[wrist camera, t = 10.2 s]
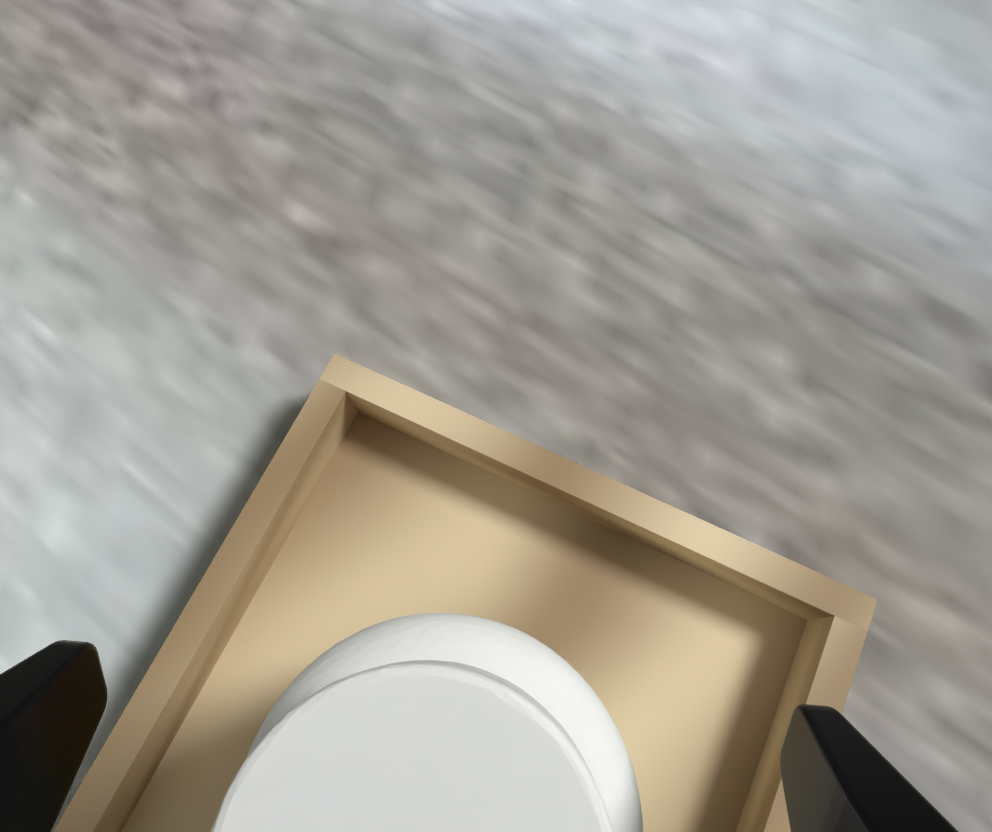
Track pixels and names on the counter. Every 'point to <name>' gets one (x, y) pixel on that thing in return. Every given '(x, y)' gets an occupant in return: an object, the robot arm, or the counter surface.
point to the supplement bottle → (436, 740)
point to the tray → (482, 611)
